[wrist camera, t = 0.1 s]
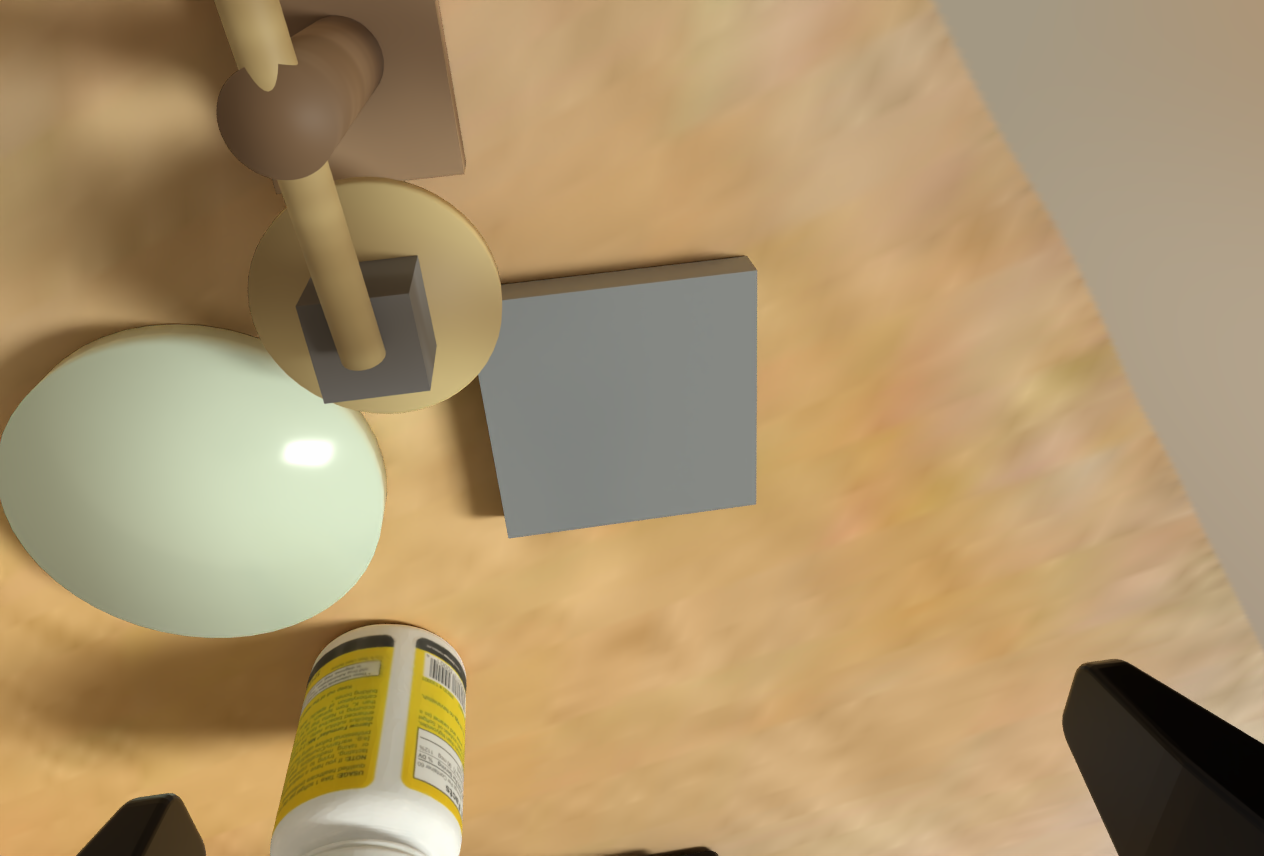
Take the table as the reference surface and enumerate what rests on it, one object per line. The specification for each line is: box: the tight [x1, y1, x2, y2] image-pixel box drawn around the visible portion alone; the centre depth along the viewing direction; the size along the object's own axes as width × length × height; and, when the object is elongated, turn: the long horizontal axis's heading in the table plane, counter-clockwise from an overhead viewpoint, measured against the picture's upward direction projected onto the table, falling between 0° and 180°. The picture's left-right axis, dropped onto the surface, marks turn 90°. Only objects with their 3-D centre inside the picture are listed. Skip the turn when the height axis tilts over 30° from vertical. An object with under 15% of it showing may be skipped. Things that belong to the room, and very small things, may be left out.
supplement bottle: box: [270, 624, 466, 856], centre depth 24 cm, size 5×5×8 cm
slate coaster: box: [478, 256, 757, 538], centre depth 23 cm, size 7×7×1 cm
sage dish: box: [0, 324, 387, 638], centre depth 22 cm, size 9×9×1 cm
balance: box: [214, 0, 502, 414], centre depth 15 cm, size 14×5×8 cm, turn 4°
